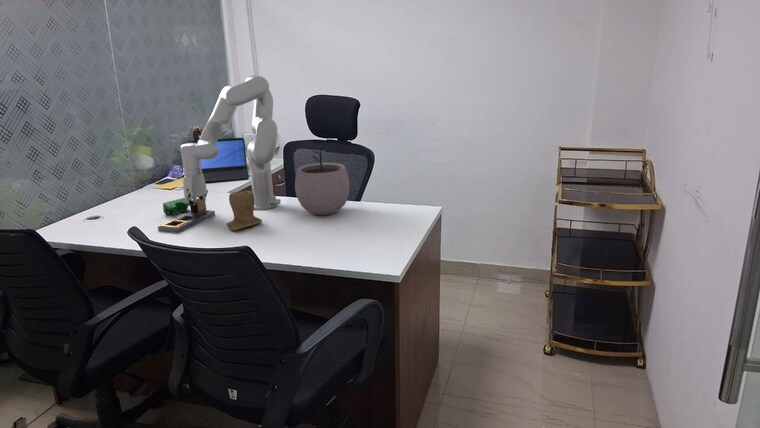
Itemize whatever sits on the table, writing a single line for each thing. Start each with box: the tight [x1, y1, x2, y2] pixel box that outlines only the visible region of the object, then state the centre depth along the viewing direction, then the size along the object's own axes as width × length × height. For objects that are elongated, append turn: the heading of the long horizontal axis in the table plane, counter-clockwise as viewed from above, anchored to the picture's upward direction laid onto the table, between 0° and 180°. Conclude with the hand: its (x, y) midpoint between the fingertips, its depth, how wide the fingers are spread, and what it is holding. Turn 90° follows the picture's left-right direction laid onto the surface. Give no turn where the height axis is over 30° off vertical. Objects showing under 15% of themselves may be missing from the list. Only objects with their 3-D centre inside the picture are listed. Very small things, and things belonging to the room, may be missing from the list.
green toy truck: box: [162, 197, 190, 216], centre depth 250 cm, size 12×6×9 cm, turn 133°
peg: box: [192, 198, 207, 215], centre depth 241 cm, size 4×4×8 cm
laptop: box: [188, 137, 249, 184], centre depth 319 cm, size 33×38×19 cm
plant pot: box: [294, 146, 351, 216], centre depth 237 cm, size 24×24×30 cm
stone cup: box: [226, 190, 263, 232], centre depth 226 cm, size 15×12×15 cm
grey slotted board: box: [157, 209, 216, 234], centre depth 235 cm, size 10×25×2 cm, turn 160°
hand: (198, 210), depth 242 cm, fingers open, 5 cm apart
